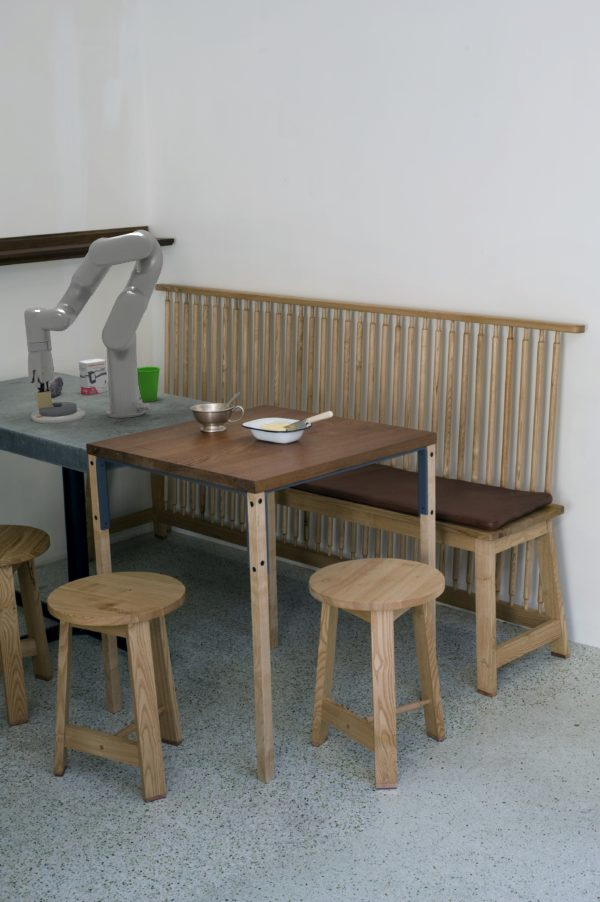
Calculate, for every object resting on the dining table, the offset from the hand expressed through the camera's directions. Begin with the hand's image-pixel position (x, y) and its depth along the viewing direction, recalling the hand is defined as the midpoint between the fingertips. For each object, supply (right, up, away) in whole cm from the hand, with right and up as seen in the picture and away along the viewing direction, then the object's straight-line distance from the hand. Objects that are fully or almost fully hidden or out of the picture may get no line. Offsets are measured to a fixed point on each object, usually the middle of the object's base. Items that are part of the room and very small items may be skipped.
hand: (45, 402), depth 357 cm
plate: (+4, -5, 0) cm, 6 cm away
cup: (+31, +2, +23) cm, 38 cm away
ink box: (+9, +5, +38) cm, 39 cm away
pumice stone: (-6, +4, +35) cm, 36 cm away
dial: (+4, -3, -1) cm, 5 cm away
